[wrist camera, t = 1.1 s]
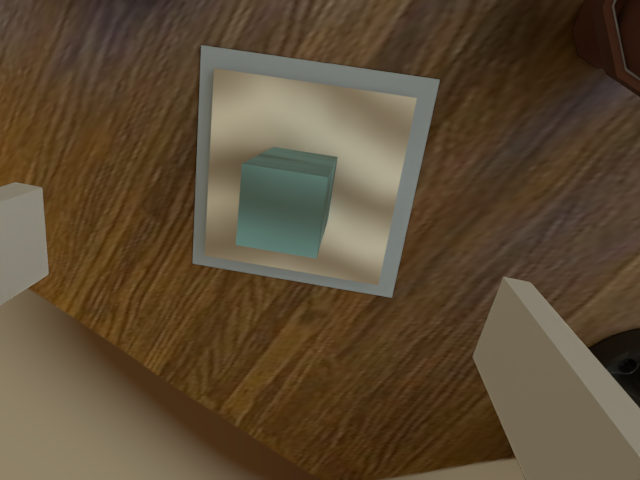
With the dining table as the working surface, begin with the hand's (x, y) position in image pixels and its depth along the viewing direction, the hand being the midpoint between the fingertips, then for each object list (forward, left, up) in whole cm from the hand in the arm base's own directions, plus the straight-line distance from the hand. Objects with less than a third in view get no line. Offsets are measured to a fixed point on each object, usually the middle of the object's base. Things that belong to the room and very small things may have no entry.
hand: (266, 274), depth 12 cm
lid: (-2, +2, -23) cm, 23 cm away
